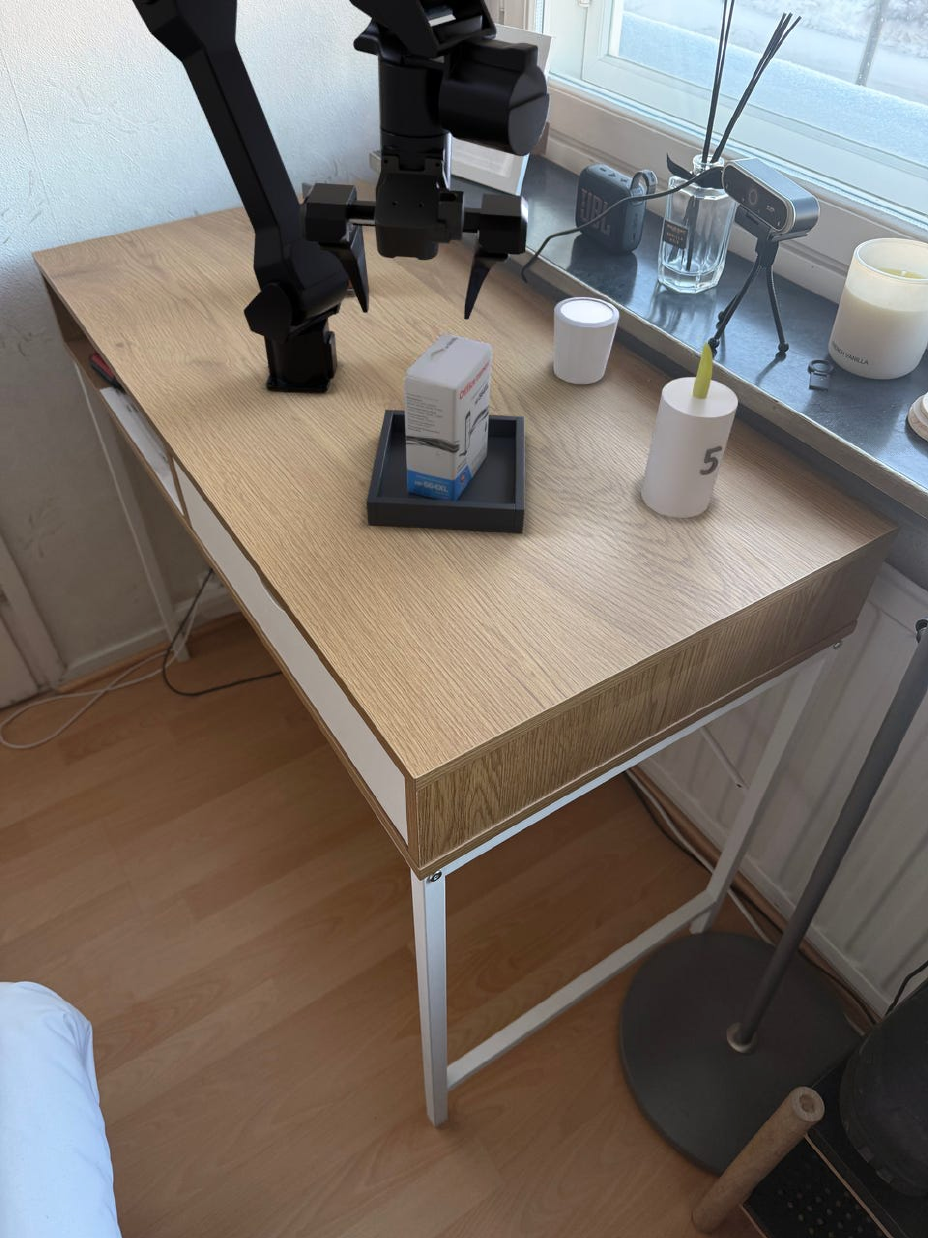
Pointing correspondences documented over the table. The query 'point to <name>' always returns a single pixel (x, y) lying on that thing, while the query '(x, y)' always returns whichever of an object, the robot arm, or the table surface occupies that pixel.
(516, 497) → the tray
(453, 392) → the ink box
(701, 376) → the candle
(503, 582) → the table surface
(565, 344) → the white cylinder
